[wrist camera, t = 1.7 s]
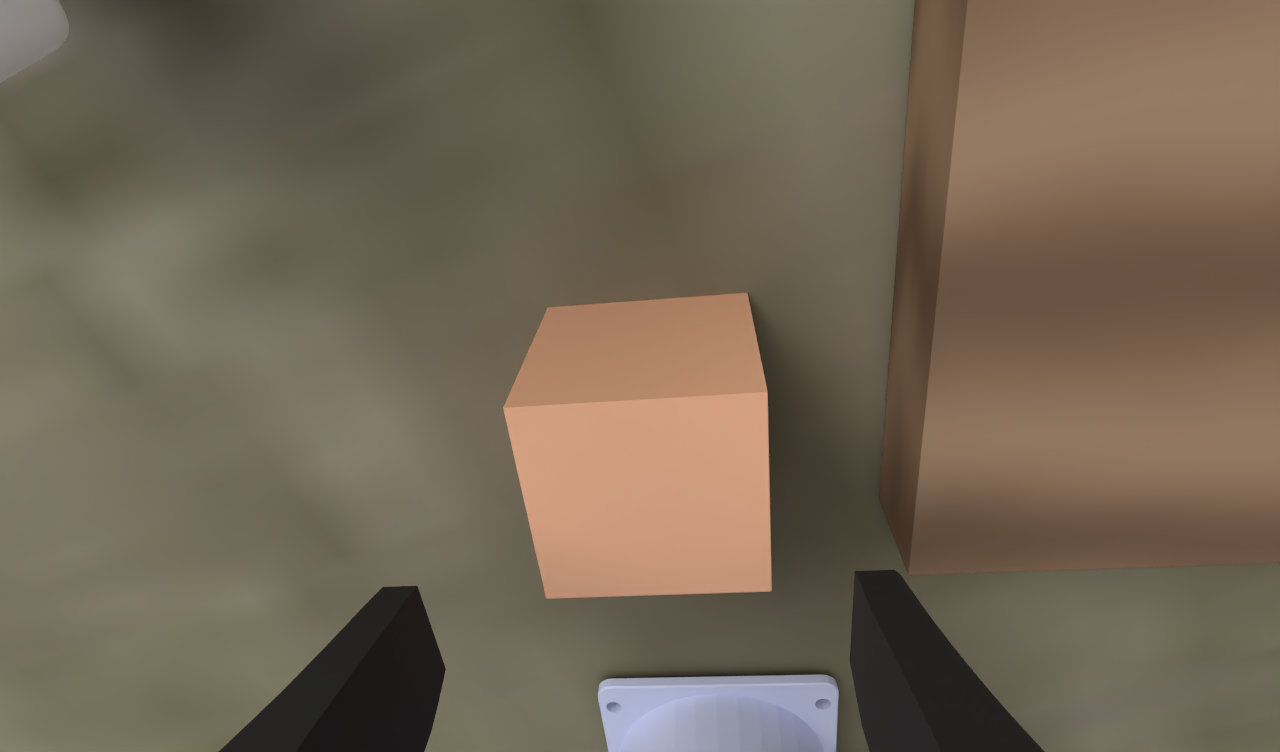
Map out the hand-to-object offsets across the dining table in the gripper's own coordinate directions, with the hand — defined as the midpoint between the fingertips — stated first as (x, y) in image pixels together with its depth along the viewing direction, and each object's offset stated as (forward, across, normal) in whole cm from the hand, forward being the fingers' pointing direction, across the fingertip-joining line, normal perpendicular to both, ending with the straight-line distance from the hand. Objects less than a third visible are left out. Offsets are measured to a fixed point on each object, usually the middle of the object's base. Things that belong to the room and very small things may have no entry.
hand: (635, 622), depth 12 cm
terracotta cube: (+8, 0, 0) cm, 8 cm away
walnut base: (+8, -13, -3) cm, 16 cm away
